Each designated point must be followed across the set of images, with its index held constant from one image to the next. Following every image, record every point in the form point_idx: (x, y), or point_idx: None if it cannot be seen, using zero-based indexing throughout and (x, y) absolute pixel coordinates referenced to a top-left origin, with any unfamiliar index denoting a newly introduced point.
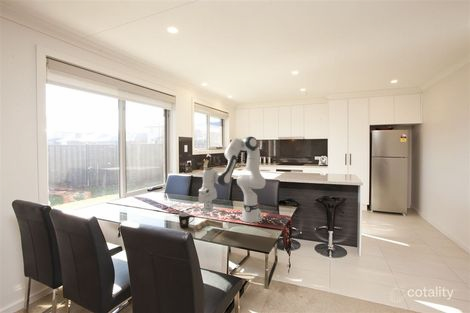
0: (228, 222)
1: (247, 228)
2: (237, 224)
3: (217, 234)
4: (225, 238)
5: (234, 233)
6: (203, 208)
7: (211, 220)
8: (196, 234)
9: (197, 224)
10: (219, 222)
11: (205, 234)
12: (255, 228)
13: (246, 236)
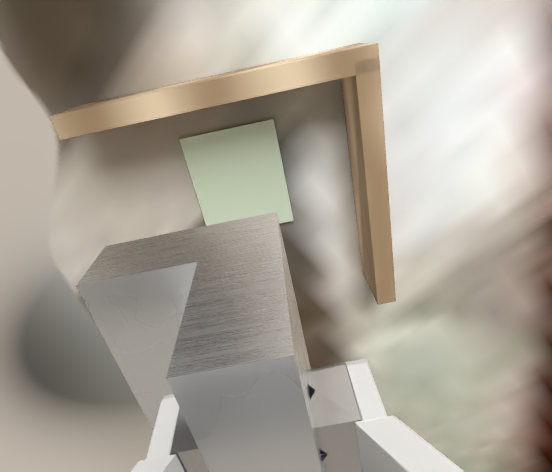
0: (540, 216)
1: (470, 408)
2: (522, 312)
3: None
4: None
5: None
6: (123, 319)
7: (376, 147)
8: (53, 206)
9: (118, 115)
10: (375, 273)
11: None
12: (498, 439)
13: None
